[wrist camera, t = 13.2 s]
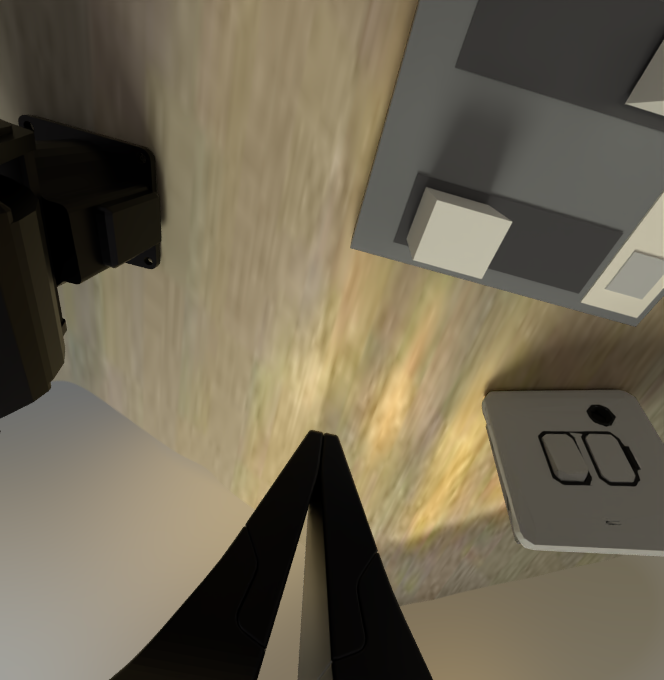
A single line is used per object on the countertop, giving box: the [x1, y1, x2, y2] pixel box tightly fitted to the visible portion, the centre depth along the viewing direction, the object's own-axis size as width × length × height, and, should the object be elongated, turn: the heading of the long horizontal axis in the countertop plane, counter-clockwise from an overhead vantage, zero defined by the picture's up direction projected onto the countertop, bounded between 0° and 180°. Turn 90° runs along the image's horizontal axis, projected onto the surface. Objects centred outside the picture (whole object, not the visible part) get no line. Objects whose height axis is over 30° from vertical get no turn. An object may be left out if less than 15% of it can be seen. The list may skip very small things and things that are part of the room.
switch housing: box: [350, 0, 664, 327], centre depth 13 cm, size 16×19×2 cm
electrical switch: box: [482, 390, 664, 556], centre depth 21 cm, size 9×5×9 cm, turn 96°
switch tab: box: [407, 187, 512, 279], centre depth 14 cm, size 3×2×3 cm
